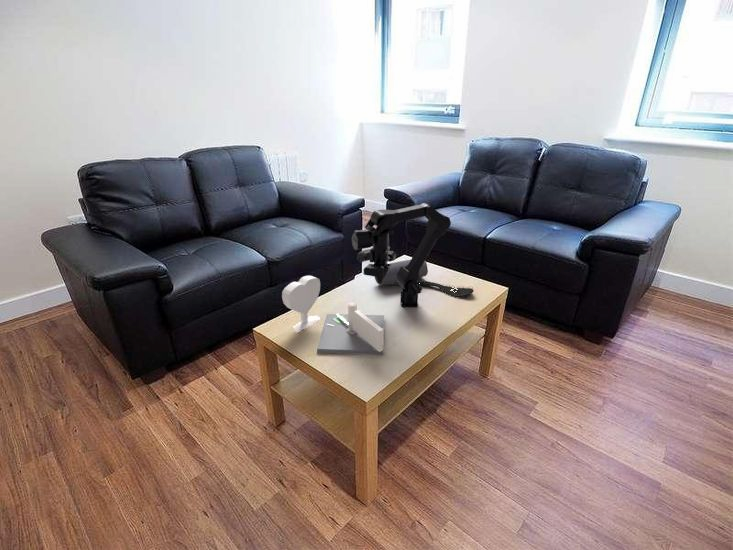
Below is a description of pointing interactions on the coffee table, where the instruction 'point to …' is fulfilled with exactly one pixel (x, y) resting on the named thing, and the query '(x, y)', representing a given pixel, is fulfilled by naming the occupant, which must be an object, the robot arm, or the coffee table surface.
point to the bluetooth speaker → (394, 269)
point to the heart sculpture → (302, 299)
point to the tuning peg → (364, 327)
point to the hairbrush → (446, 289)
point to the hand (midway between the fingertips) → (380, 283)
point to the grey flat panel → (345, 336)
